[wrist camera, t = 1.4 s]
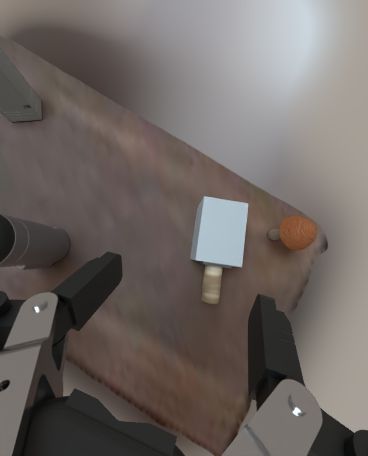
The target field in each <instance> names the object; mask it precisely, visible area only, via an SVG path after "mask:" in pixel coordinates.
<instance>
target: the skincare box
mask: <svg viewBox="0 0 368 456" xmlns="http://www.w3.org/2000/svg"><path fill="white" fill-rule="evenodd" d="M0 112H1V113H2V114H3V115H4V116H5V117H6V118H7V119H8V120H9V121H11V122H16V121H33V120H42V105H41V99H40V98H39V97H38V95H37V94H36V93H35V91H34V90H33V89H32V87H31V86H30V85H29V83H28V82H27V81H26V80H25V78H24V77H23V76H22V74H21V73H20V72H19V70H18V69H17V68H16V66H15V65H14V64H13V62H12V61H11V60H10V58H9V57H8V56H7V54H6V53H5V52H4V50H3V49H2V48H1V46H0Z"/></svg>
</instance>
